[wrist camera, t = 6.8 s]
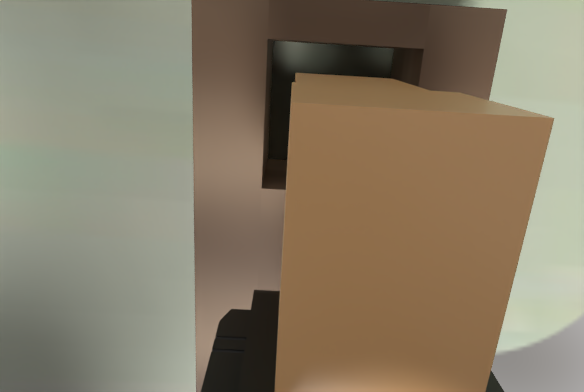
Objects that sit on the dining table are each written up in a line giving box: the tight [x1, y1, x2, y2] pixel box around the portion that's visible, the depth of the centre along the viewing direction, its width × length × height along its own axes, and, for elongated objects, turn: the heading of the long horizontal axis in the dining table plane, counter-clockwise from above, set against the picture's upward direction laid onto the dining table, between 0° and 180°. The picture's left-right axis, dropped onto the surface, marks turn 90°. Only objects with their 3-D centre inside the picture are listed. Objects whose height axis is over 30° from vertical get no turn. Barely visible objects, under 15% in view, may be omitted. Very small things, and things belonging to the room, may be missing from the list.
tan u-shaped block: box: [275, 73, 554, 392], centre depth 11 cm, size 12×3×8 cm, turn 177°
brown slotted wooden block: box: [192, 0, 507, 392], centre depth 17 cm, size 16×9×4 cm, turn 177°
